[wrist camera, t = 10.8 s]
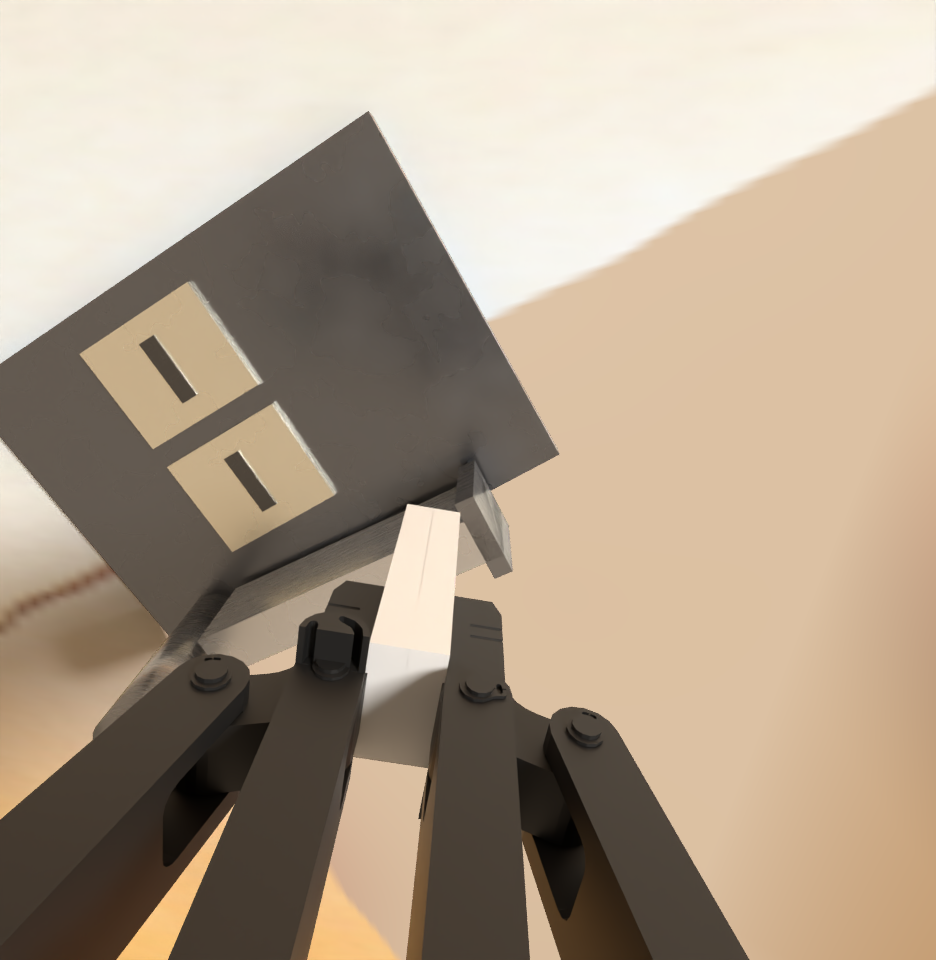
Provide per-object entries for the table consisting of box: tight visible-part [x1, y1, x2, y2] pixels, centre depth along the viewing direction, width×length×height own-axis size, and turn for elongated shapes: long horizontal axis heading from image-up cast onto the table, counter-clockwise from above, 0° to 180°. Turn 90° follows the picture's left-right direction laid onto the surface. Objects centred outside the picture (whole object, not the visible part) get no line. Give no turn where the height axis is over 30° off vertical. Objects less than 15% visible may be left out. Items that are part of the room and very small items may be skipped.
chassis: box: [0, 111, 559, 740], centre depth 26 cm, size 16×22×10 cm
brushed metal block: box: [198, 460, 512, 666], centre depth 29 cm, size 14×4×4 cm, turn 116°
